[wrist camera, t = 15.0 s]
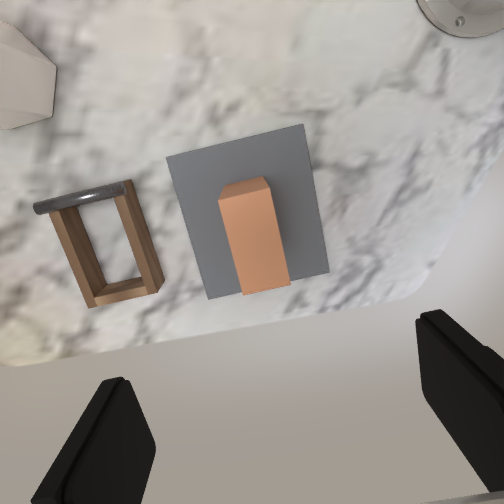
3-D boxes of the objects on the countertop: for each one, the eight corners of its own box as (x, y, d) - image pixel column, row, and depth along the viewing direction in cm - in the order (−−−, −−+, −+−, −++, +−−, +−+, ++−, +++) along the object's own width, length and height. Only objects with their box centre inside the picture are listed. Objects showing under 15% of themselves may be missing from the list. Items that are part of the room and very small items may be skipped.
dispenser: (134, 177, 36) (119, 182, 31) (168, 279, 39) (158, 296, 35) (57, 196, 36) (31, 203, 32) (97, 295, 39) (79, 314, 35)
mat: (302, 123, 34) (303, 123, 34) (328, 270, 39) (329, 272, 39) (166, 157, 35) (165, 157, 35) (208, 297, 40) (208, 299, 39)
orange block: (262, 175, 35) (269, 187, 26) (279, 248, 38) (290, 284, 28) (224, 185, 35) (217, 200, 26) (243, 257, 38) (243, 295, 28)
